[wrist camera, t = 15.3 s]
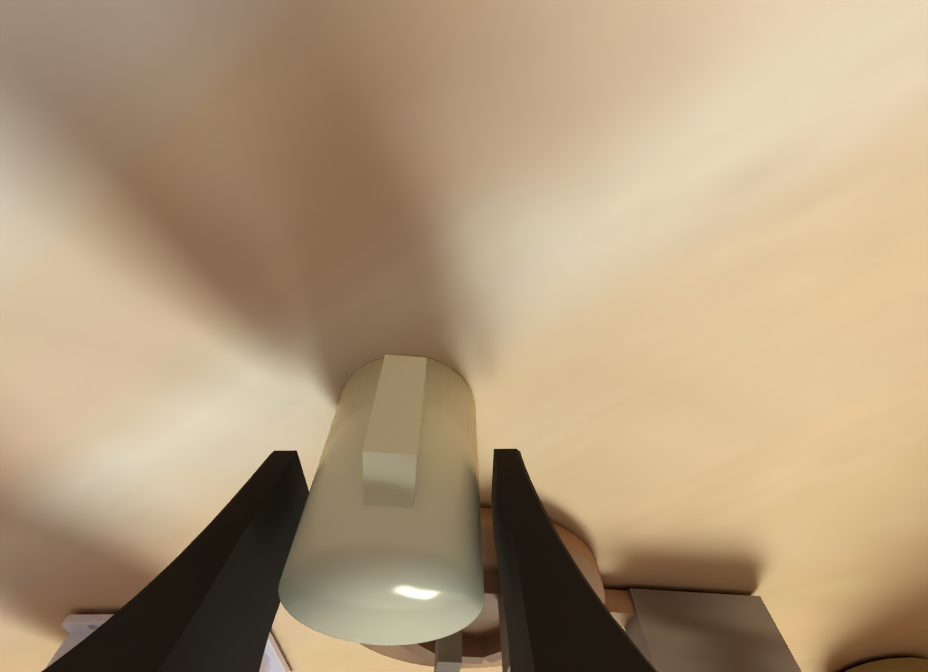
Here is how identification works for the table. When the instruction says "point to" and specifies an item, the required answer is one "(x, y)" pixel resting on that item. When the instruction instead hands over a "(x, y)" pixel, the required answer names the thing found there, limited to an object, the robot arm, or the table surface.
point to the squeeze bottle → (893, 665)
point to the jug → (392, 511)
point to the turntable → (641, 613)
